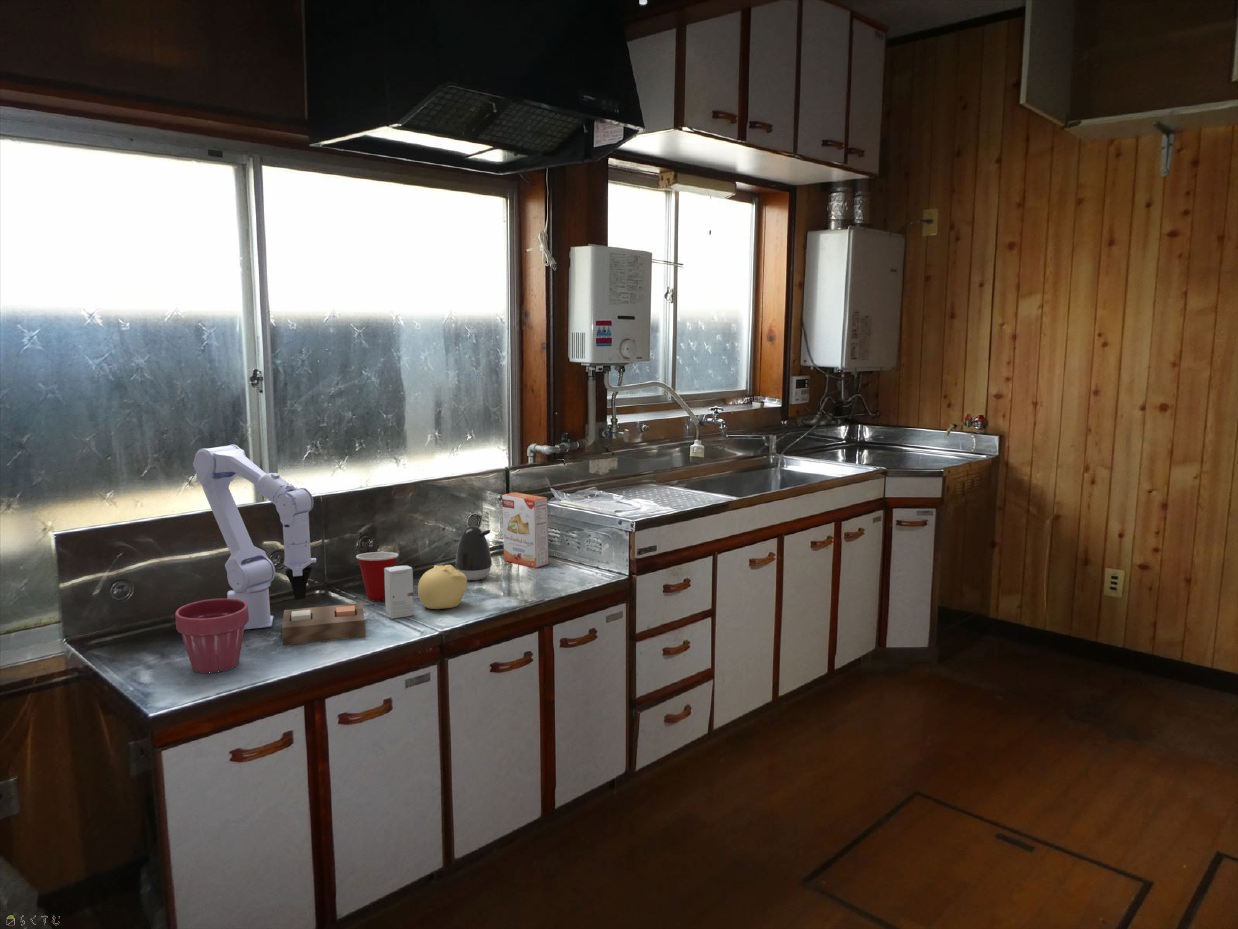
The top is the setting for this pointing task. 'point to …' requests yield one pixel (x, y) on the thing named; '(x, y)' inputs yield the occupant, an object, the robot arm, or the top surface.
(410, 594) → the skincare box
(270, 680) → the top surface
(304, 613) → the cream key
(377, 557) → the plastic cup
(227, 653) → the plant pot
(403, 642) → the top surface
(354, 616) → the walnut panel
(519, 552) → the cracker box
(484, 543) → the pump dispenser
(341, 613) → the terracotta key
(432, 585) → the sculpture
